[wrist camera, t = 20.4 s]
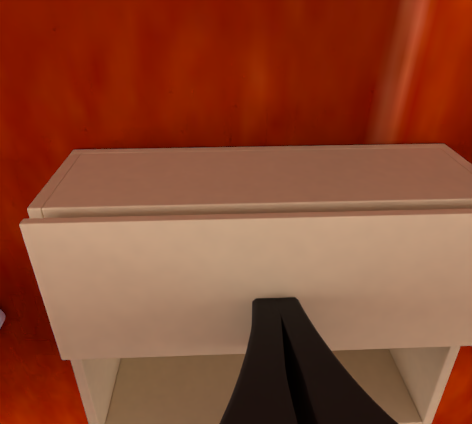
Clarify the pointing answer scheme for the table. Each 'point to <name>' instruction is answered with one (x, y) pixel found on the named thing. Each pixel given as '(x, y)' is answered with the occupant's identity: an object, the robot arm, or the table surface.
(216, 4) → the table surface
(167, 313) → the flap
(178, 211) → the carton
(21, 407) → the table surface
